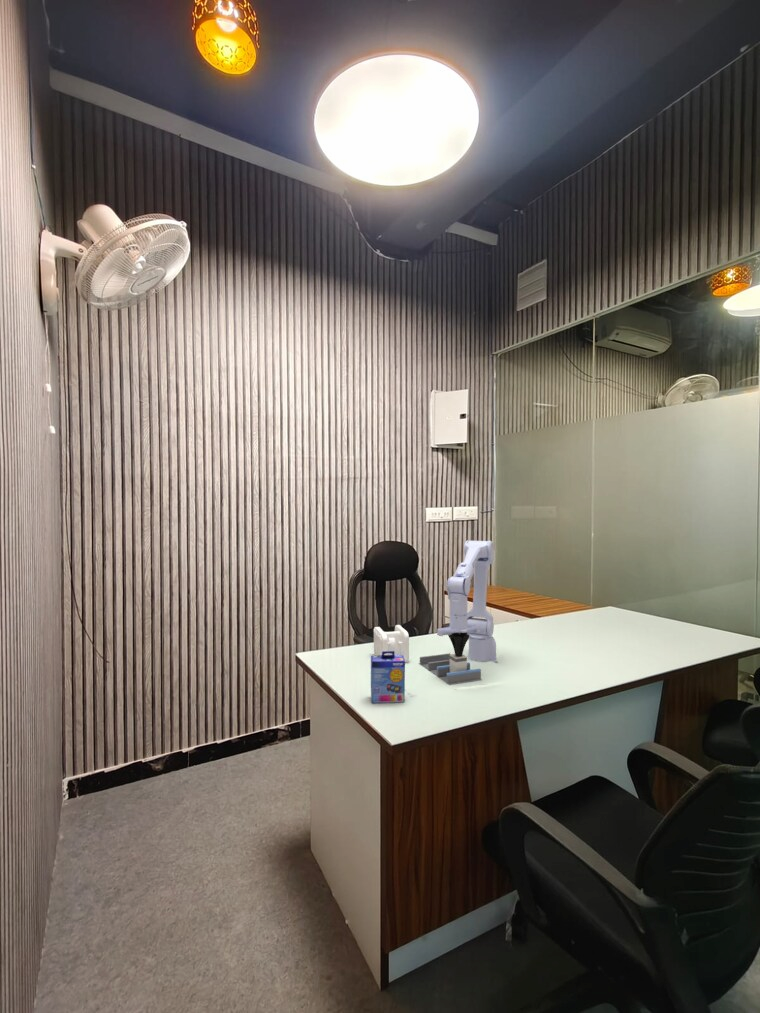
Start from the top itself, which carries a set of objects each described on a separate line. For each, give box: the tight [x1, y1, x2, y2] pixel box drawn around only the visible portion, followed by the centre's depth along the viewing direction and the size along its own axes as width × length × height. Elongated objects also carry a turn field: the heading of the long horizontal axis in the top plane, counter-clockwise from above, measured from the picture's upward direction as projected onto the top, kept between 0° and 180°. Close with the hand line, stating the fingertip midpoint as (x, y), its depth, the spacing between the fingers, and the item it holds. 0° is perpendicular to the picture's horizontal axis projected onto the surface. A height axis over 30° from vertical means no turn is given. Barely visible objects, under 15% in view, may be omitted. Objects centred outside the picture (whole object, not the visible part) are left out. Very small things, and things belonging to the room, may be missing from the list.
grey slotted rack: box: [418, 652, 483, 686], centre depth 153 cm, size 12×22×4 cm, turn 21°
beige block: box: [449, 653, 468, 673], centre depth 147 cm, size 4×4×7 cm
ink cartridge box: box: [370, 651, 406, 704], centre depth 132 cm, size 10×6×14 cm, turn 95°
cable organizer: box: [372, 624, 410, 663], centre depth 167 cm, size 15×11×12 cm
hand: (458, 656), depth 147 cm, fingers closed, pressing on beige block
